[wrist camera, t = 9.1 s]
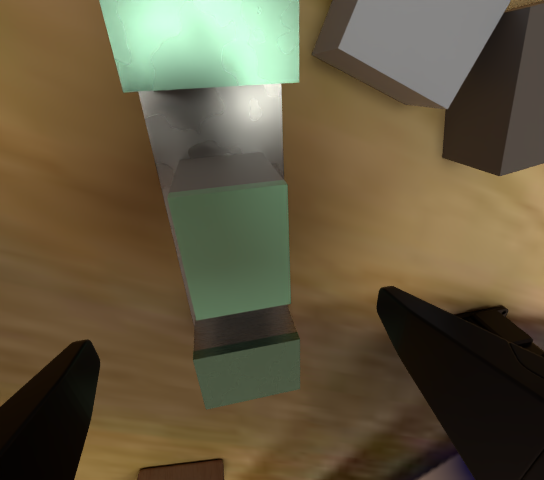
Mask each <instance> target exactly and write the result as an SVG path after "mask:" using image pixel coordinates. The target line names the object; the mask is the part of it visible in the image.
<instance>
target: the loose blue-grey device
mask: <svg viewBox="0 0 544 480" xmlns="http://www.w3.org/2000/svg"><path fill="white" fill-rule="evenodd" d="M509 3H510V0H333V1H332V3H331V6H330V8H329V11H328V14H327V16H326V19H325V21H324V24H323V27H322V29H321V32H320V34H319V37H318V40H317V42H316V45H315V47H314V50H313V52H312V55H313V56H315V57H317V58H319V59H321V60H322V61H324V62H326V63H328V64H330V65H332V66H334V67H336V68H338V69H339V70H341V71H343V72H345V73H347V74H349V75H351V76H353V77H355V78H356V79H358V80H360V81H362V82H364V83H366V84H368V85H370V86H372V87H373V88H375V89H377V90H379V91H381V92H383V93H385V94H387V95H388V96H390V97H392V98H394V99H396V100H398V101H400V102H402V103H404V104H406V105H414V106H423V107H431V108H440V109H448V108H449V106H450V104H451V103H452V101H453V99H454V97H455V96H456V94H457V92H458V91H459V89H460V87H461V85H462V84H463V82H464V80H465V79H466V77H467V75H468V73H469V72H470V70H471V68H472V67H473V65H474V63H475V61H476V60H477V58H478V56H479V55H480V53H481V51H482V49H483V48H484V46H485V44H486V42H487V41H488V39H489V37H490V36H491V34H492V32H493V30H494V29H495V27H496V25H497V24H498V22H499V20H500V18H501V17H502V15H503V13H504V12H505V10H506V8H507V6H508V5H509Z"/></svg>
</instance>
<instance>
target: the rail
mask: <svg viewBox="0 0 544 480" xmlns="http://www.w3.org/2000/svg"><path fill="white" fill-rule="evenodd" d="M99 1H100V5H101V9H102V13H103V16H104V20H105V24H106V28H107V32H108V36H109V39H110V43H111V47H112V51H113V55H114V59H115V63H116V66H117V70H118V74H119V78H120V82H121V86H122V89H123V92H138V93H139V97H140V101H141V105H142V109H143V114H144V118H145V122H146V126H147V130H148V134H149V139H150V143H151V147H152V151H153V155H154V160H155V164H156V168H157V172H158V176H159V181H160V185H161V189H162V193H163V197H164V202H165V206H166V210H167V214H168V218H169V223H170V227H171V231H172V235H173V239H174V243H175V248H176V252H177V256H178V260H179V264H180V269H181V273H182V277H183V281H184V285H185V290H186V294H187V298H188V302H189V306H190V311H191V315H192V319H193V323H194V350H193V362H194V365H195V369H196V373H197V377H198V381H199V385H200V388H201V392H202V396H203V400H204V404H205V408H206V409H211V408H215V407H220V406H224V405H229V404H234V403H238V402H243V401H247V400H252V399H256V398H261V397H265V396H270V395H275V394H279V393H284V392H288V391H293V390H297V389H300V338H299V336H298V333H297V330H296V327H295V325H294V322H293V319H292V317H291V314H290V311H289V308H288V304H287V305H281V306H275V307H270V308H264V309H259V310H253V311H247V312H242V313H236V314H230V315H225V316H219V317H214V318H208V319H202V320H197V321H196V317H195V313H194V308H193V304H192V300H191V296H190V292H189V287H188V283H187V279H186V275H185V271H184V266H183V262H182V258H181V254H180V250H179V246H178V241H177V237H176V233H175V229H174V225H173V220H172V216H171V212H170V208H169V204H168V199H167V197H168V194H169V191H170V188H171V185H172V182H173V178H174V175H175V172H176V169H177V166H178V163H179V160H184V159H194V158H204V157H214V156H224V155H235V154H245V153H255V152H262V153H263V154H264V155H265V157H266V158H267V159H268V160H269V162H270V163H271V164H272V165H273V167H274V168H275V169H276V170H277V172H278V173H279V174H280V175H281V177H282V178H283V179H284V165H283V130H282V95H281V83H296V82H299V0H99Z"/></svg>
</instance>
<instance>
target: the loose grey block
mask: <svg viewBox="0 0 544 480" xmlns="http://www.w3.org/2000/svg"><path fill="white" fill-rule="evenodd" d="M442 158H445V159H448V160H451V161H454V162H457V163H461V164H464V165H467V166H470V167H473V168H476V169H479V170H482V171H485V172H488V173H491V174H494V175H497V176H502V175H506V174H509V173H512V172H516V171H519V170H522V169H526V168H529V167H532V166H536V165H539V164H543V163H544V1H540V2H536V3H532V4H528V5H525V6H521V7H517V8H513V9H509V10H505V12H504V13H503V15H502V17H501V18H500V20H499V22H498V24H497V25H496V27H495V29H494V30H493V32H492V34H491V36H490V37H489V39H488V41H487V42H486V44H485V46H484V48H483V49H482V51H481V53H480V55H479V56H478V58H477V60H476V61H475V63H474V65H473V67H472V68H471V70H470V72H469V73H468V75H467V77H466V79H465V80H464V82H463V84H462V85H461V87H460V89H459V91H458V92H457V94H456V96H455V97H454V99H453V101H452V103H451V104H450V106H449V108H448V109H446V114H445V127H444V140H443V154H442Z"/></svg>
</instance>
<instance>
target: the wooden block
mask: <svg viewBox="0 0 544 480" xmlns="http://www.w3.org/2000/svg"><path fill="white" fill-rule="evenodd" d="M138 480H224V468H223V462H222V460H213V461H205V462H197V463H188V464H180V465H172V466H164V467H156V468H148V469H142V470H140V472H139V474H138Z"/></svg>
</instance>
